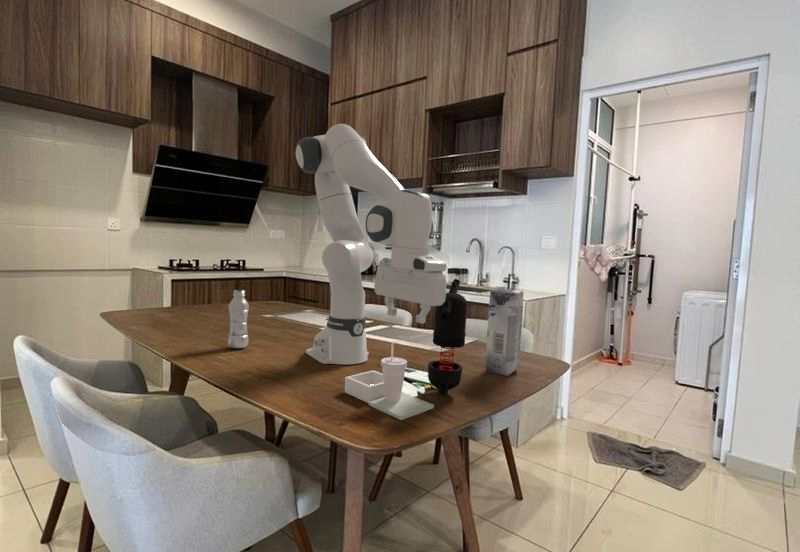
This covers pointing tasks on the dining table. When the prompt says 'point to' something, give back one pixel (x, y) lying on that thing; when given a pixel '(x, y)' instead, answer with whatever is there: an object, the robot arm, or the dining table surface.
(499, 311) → the juice carton
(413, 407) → the coaster
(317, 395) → the dining table surface
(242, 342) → the plastic bottle
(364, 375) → the shallow white tray
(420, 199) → the robot arm
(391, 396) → the smoothie
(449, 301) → the filter
